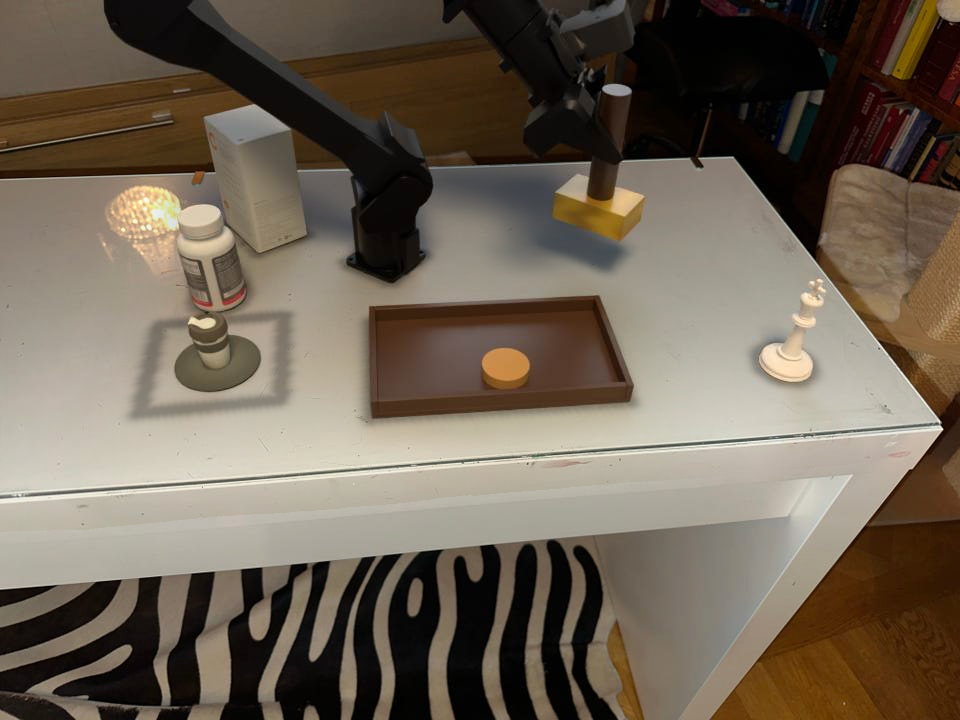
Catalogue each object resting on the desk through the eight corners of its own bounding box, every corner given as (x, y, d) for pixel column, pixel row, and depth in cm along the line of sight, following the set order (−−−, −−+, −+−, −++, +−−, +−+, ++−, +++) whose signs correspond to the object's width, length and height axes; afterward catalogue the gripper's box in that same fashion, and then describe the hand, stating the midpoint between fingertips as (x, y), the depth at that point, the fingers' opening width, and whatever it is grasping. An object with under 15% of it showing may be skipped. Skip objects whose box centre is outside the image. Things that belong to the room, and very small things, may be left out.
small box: (308, 236, 86) (293, 128, 77) (258, 255, 83) (235, 145, 74) (274, 206, 91) (256, 101, 82) (225, 223, 87) (200, 116, 79)
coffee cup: (280, 400, 67) (272, 359, 63) (139, 413, 65) (122, 372, 62) (284, 315, 75) (276, 275, 72) (159, 325, 74) (145, 284, 70)
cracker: (472, 377, 69) (472, 368, 68) (497, 351, 72) (497, 341, 71) (513, 396, 67) (514, 387, 66) (537, 368, 70) (538, 359, 69)
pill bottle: (243, 277, 80) (225, 196, 73) (250, 307, 76) (231, 225, 70) (190, 287, 78) (167, 204, 72) (194, 318, 75) (170, 234, 68)
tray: (372, 418, 65) (370, 401, 64) (370, 322, 75) (368, 305, 74) (630, 402, 68) (634, 385, 67) (596, 310, 78) (599, 294, 76)
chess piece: (784, 388, 70) (820, 304, 63) (747, 356, 73) (778, 272, 66) (822, 372, 72) (862, 288, 65) (785, 342, 75) (819, 259, 68)
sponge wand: (551, 217, 79) (566, 87, 70) (573, 197, 83) (590, 71, 73) (620, 242, 76) (645, 110, 67) (640, 220, 80) (667, 91, 70)
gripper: (576, -2, 57) (691, 152, 63) (599, -62, 70) (692, 69, 76) (472, 88, 63) (585, 220, 69) (512, 17, 77) (603, 132, 83)
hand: (620, 155), depth 74 cm, fingers closed on sponge wand, 3 cm apart
